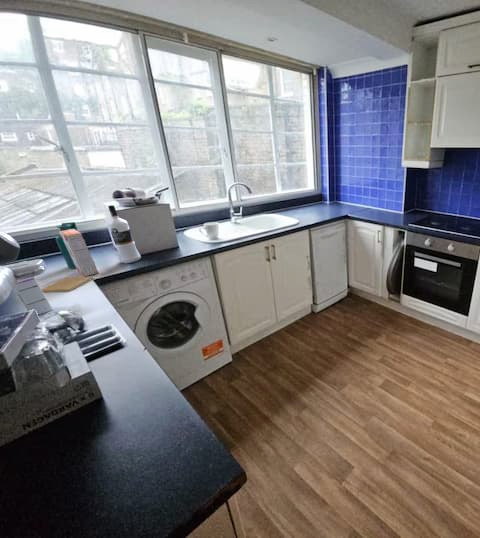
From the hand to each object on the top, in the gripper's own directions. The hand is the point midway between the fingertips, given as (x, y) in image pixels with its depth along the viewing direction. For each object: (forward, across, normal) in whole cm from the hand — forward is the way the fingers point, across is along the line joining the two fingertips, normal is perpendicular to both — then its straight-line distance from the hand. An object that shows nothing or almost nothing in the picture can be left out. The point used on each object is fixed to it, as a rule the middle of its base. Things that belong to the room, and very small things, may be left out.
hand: (3, 267), depth 94 cm
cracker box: (+50, -13, +22) cm, 56 cm away
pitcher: (+66, -10, +22) cm, 70 cm away
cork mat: (+37, -7, +22) cm, 43 cm away
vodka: (+54, -31, +22) cm, 66 cm away
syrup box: (+12, 0, +22) cm, 25 cm away
